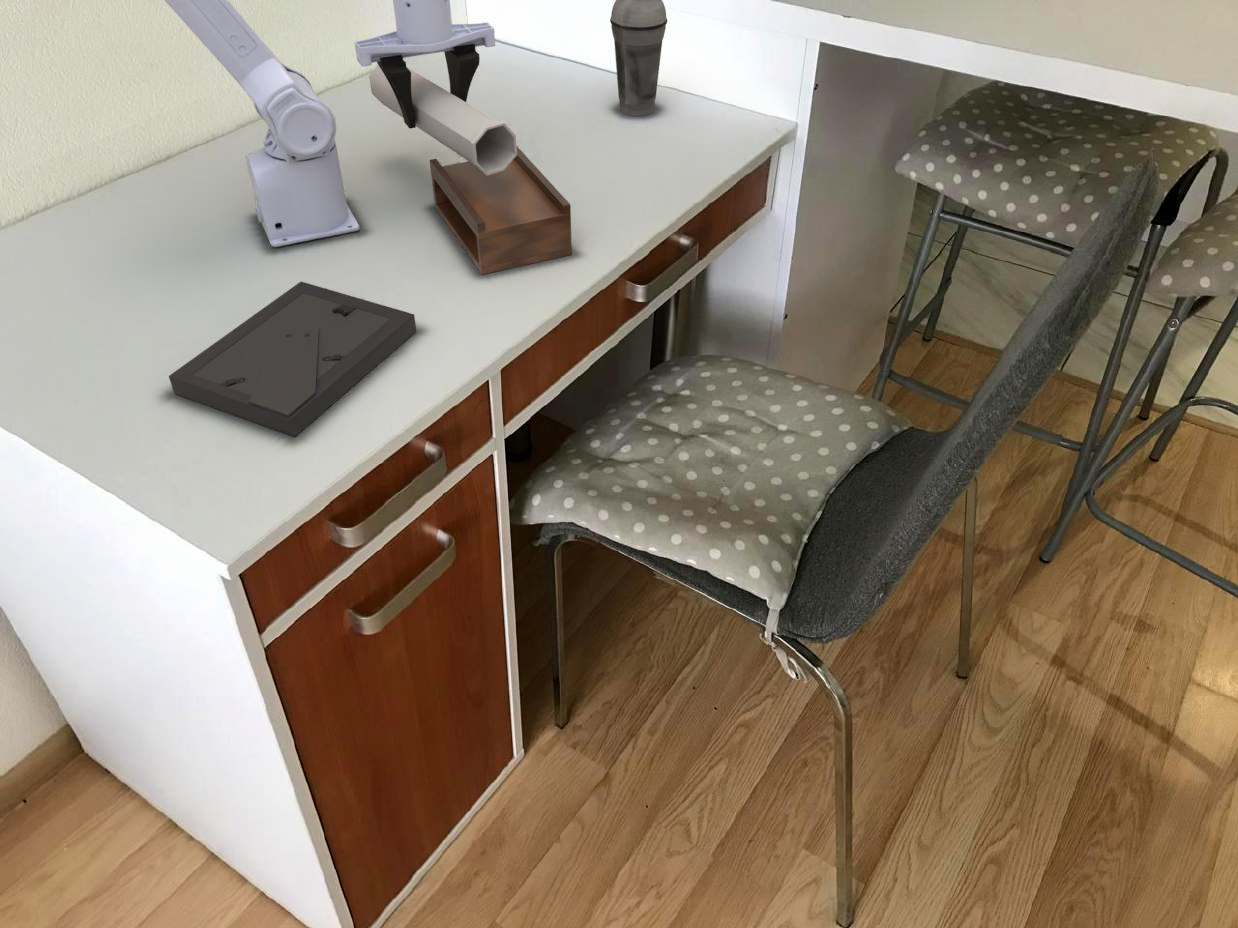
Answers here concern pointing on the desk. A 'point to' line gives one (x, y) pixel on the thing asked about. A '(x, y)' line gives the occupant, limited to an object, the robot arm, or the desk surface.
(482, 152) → the tube
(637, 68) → the beverage cup
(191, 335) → the desk surface
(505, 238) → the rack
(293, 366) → the picture frame
